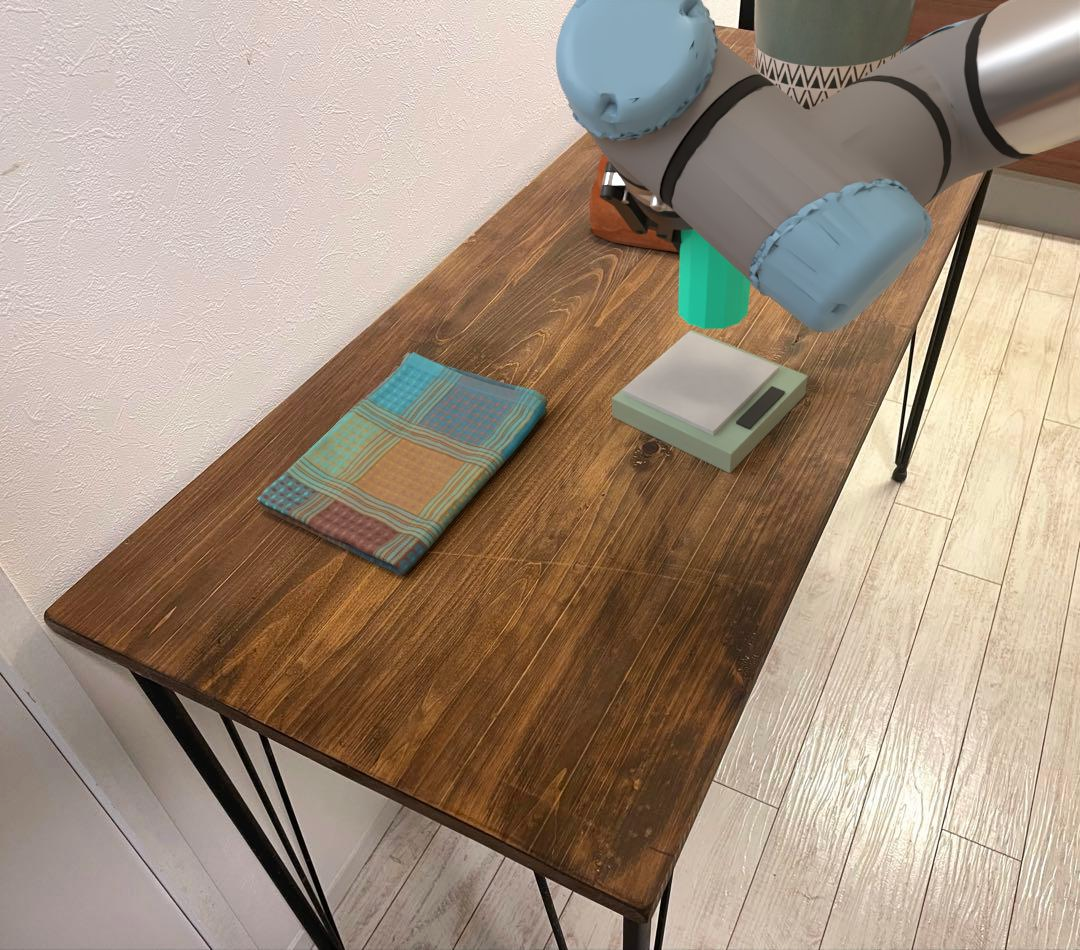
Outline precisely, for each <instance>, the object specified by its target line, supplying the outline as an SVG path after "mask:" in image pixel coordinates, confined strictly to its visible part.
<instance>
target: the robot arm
mask: <svg viewBox="0 0 1080 950" xmlns="http://www.w3.org/2000/svg"><path fill="white" fill-rule="evenodd" d="M555 67H556V69H555V70H556V73H557V78H558V81H559V85H560V87H561V90H562V92H563V94H564V96H565V98H566V100H567V102H568V107H569V108H570V110H571V111H572V117H573V119H574V120H575V121H576V123H578V124H579V125H580V126H581V127H582V128H584V129H585V130H586V131H587V132H588V134H589V135H590V137H591V138H592V139H593V141H594V142H595V144H596V145H597V146H598V148H599V150H600V151H601V152H602V153H603V155H605V156H606V158H607V159H608V160H609V162H606V167H605V172H604V177H603V182H602V188H601V193H600V198H602V199H603V200H605V201H607V202H608V203H610V204H612V205H613V206H614V207H615V208H616V210H617V211H618V212H619V214H620V215H621V216H622V218H623V219H624V221H625V222H626V223H627V225H628V226H629V227H630V229H631V230H632V231H633V232H634V233H636V234H638V235H642V234H647V231H648V229H649V230H654V231H656V236H657V237H659V238H660V239H664V241H666V242H668V243H672V244H673V245H674V247H675V248H676V250H677V251H678V252H677V253H678V254H679V255H680V246H681V230H692V229H694V230H695V231H696V232H698V233H699V234H700V235H701V236H702V237H703V238H704V239H705V240H706V241H707V242H708V243H709V244H710V245H712V246H713V247H714V248H715V249H716V250H717V251H718V252H719V253H720V254H721V255H722V256H723V257H724V258H726V259H727V260H728V261H729V262H730V263H731V264H732V265H733V266H734V267H735V268H736V269H737V270H738V271H740V272H741V273H742V274H743V275H744V276H745V277H746V278H747V279H748V280H749V281H750V282H751V286H753V288H754V289H755V290H756V291H758V292H759V294H760V295H762V296H764V297H768V298H769V299H771V300H772V301H774V302H775V303H776V304H778V305H779V306H780V307H781V308H783V309H784V310H785V311H786V312H788V313H789V314H790V315H791V316H793V317H794V318H795V319H797V320H798V321H799V322H800V323H801V324H803V325H804V326H806V327H807V329H810V330H812V331H814V332H818V333H824V334H825V333H833V332H835V331H838V330H839V331H840V329H842V328H843V329H844V327H846V326H847V325H849V324H850V323H852V322H853V321H855V319H857V318H858V317H859V316H860V315H861V314H862V313H864V312H865V311H866V310H867V308H868V307H870V305H871V304H872V303H873V302H874V301H875V300H877V299H878V298H879V297H880V296H882V294H884V292H885V291H886V290H887V289H889V287H890V286H891V285H892V284H893V283H895V281H896V280H897V279H898V278H899V277H900V276H901V274H902V273H903V272H904V271H905V270H906V269H907V267H908V266H909V265H910V264H911V263H912V261H913V260H914V259H915V258H916V257H917V255H918V254H920V252H921V250H922V249H923V248H924V246H925V244H926V243H927V241H928V240H929V238H930V235H931V233H932V228H933V227H932V226H933V221H932V218H931V215H930V213H929V212H928V211H927V210H926V209H925V208H924V207H926V206H927V205H928V204H930V202H932V201H933V200H935V199H936V198H937V197H939V196H940V195H942V194H943V193H944V192H945V191H946V190H948V189H949V188H950V187H952V186H953V185H955V184H956V183H959V182H961V181H963V180H966V179H968V178H969V177H973V176H976V175H979V174H982V173H985V172H988V171H991V170H994V169H997V168H1000V167H1004V166H1006V165H1010V164H1013V163H1015V162H1018V161H1021V160H1023V159H1027V158H1030V157H1033V156H1036V155H1037V154H1041V153H1043V152H1047V151H1049V150H1052V149H1055V148H1058V147H1062V146H1066V145H1068V144H1071V143H1075V142H1077V141H1080V0H1007V1H1005V2H1003V3H1001V4H999V5H998V6H997V7H995V8H994V9H992V10H989V11H987V12H984V13H981V14H978V15H976V16H974V17H972V18H969V19H964V20H960V21H957V22H955V23H951V24H947V25H945V26H942V27H940V28H938V29H936V30H934V31H931V32H930V33H928V34H926V35H924V36H923V37H921V38H919V39H917V40H915V41H913V42H912V43H910V44H909V45H906V48H904V50H903V51H902V52H901V53H900V54H899V55H897V56H896V57H894V58H893V59H891V60H889V61H888V62H886V63H885V64H883V65H882V66H880V67H879V68H877V69H875V70H874V71H872V72H871V73H869V74H868V75H866V76H864V77H863V78H861V79H860V80H858V81H855V82H852V83H851V84H850V85H848V86H847V87H845V88H843V89H842V90H841V91H839V92H837V93H836V94H834V95H832V96H831V97H829V98H827V99H826V100H824V101H822V102H821V103H819V104H817V105H816V106H814V107H812V108H811V109H809V110H806V109H805V108H803V107H802V106H801V105H800V104H798V103H797V102H796V101H795V100H793V99H792V98H791V97H790V96H788V95H787V94H786V93H785V92H783V91H782V90H781V89H780V88H778V87H777V86H776V85H775V84H773V83H772V82H771V81H769V80H768V79H767V78H766V77H764V76H762V75H761V74H760V73H759V72H758V71H757V70H756V69H755V68H754V66H753V65H751V64H750V63H749V62H748V61H746V60H745V59H744V58H743V57H741V56H740V55H739V54H737V53H736V52H735V51H734V50H733V49H732V48H730V47H729V46H728V45H727V44H726V43H725V42H723V41H722V40H721V39H720V38H719V37H718V36H717V30H716V21H715V20H714V19H713V18H711V13H710V9H709V8H707V7H706V6H705V5H704V2H703V0H575V2H574V4H573V5H572V6H571V8H570V9H569V11H568V13H567V14H566V16H565V19H564V20H563V22H562V25H561V28H560V31H559V34H558V38H557V42H556V48H555Z"/></svg>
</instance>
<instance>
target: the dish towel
mask: <svg viewBox="0 0 1080 950" xmlns="http://www.w3.org/2000/svg"><path fill="white" fill-rule="evenodd" d="M548 403H549V400H548V398H547V397H546V396H545V395H543V394H542V393H541V392H539V391H537V390H536V389H532V388H528V387H524V386H519V385H515V384H511V383H508V382H507V383H506V382H503V381H500V380H496V379H493V378H491V377H487V376H484V375H480V374H477V373H475V372H471V371H470V372H469V371H465V370H461V369H459V368H455V367H452V366H449V365H446V364H443V363H440V362H436V361H434V360H431V359H429V358H427V357H424V356H422V355H420V354H418V353H416V351H415V352H414V351H413V352H412V353H411V352H407V353H406V354H405V356H404V357H403V359H402V361H401V363H400V365H399V366H398V367H397V368H396V369H395V370H394V371H393V372H392V373H391V374H390V375H389V376H388V377H386V378H385V379H384V381H382V382H380V383H379V385H377V387H376V388H374V389H373V390H372V391H371V392H370V393H367V395H366V396H365V397H363V399H361V400H360V401H359V402H358V403H357V404H355V405H354V406H353V407H352V408H351V409H350V410H349V411H347V413H346V414H344V415H343V417H342V418H341V419H339V421H336V423H335V424H334V425H332V427H331V428H330V429H329V430H328V432H326V433H325V434H324V435H322V437H320V439H319V440H318V441H316V442H315V443H314V444H313V445H312V446H311V447H310V448H309V449H308V450H307V451H306V452H305V453H304V454H302V456H300V457H299V458H298V459H297V460H295V462H293V464H292V465H291V466H290V467H289V468H288V469H286V470H285V472H283V473H282V474H281V475H280V477H278V478H277V479H276V480H274V481H273V482H272V483H271V484H269V485H268V486H267V487H266V488H265V489H264V490H263V491H262V492H261V494H260V495H259V496H258V497H257V501H258V503H257V504H258V506H259V507H260V508H261V509H262V510H263V511H265V512H267V513H269V514H271V515H274V516H276V517H278V518H279V519H282V520H284V521H286V522H288V523H290V524H292V525H295V526H296V527H300V528H301V529H304V530H306V531H307V532H309V533H312V534H314V535H316V536H318V537H319V538H322V539H323V540H326V541H329V542H330V543H331V544H334V545H336V546H338V547H340V548H342V549H344V550H346V551H348V552H350V553H352V554H355V555H357V556H358V557H361V558H363V559H365V560H366V561H368V562H371V563H373V564H375V565H376V566H379V567H382V568H384V569H386V570H387V571H391V572H393V573H394V574H395V575H398V576H400V577H404V575H406V574H407V573H408V571H410V569H412V567H413V566H414V565H415V564H416V563H417V562H418V561H420V559H421V558H422V557H423V556H424V554H426V552H427V551H428V550H429V549H430V548H431V547H432V546H433V544H434V543H435V542H436V541H437V540H438V539H439V538H440V536H441V535H442V534H443V533H444V532H445V531H446V529H447V528H448V526H449V525H450V524H451V523H452V522H453V520H454V519H455V518H456V517H458V515H459V513H461V511H462V510H463V509H465V508H466V506H467V504H468V503H470V502H471V500H472V499H473V498H474V497H475V495H476V494H477V493H478V492H480V490H481V489H482V488H483V487H484V485H485V484H486V483H487V482H489V480H490V479H491V478H492V477H493V476H494V475H495V474H496V472H497V471H498V470H500V468H501V467H502V466H503V465H504V464H505V463H506V462H507V460H508V459H509V458H510V457H511V456H512V455H513V454H514V453H515V452H516V450H518V448H519V447H520V445H521V444H522V443H523V442H524V441H525V439H526V438H527V437H528V436H529V435H530V433H531V431H532V430H533V429H534V428H535V427H536V425H537V423H539V420H541V418H542V417H543V416H544V415H545V414H546V413H547V406H548Z"/></svg>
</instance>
